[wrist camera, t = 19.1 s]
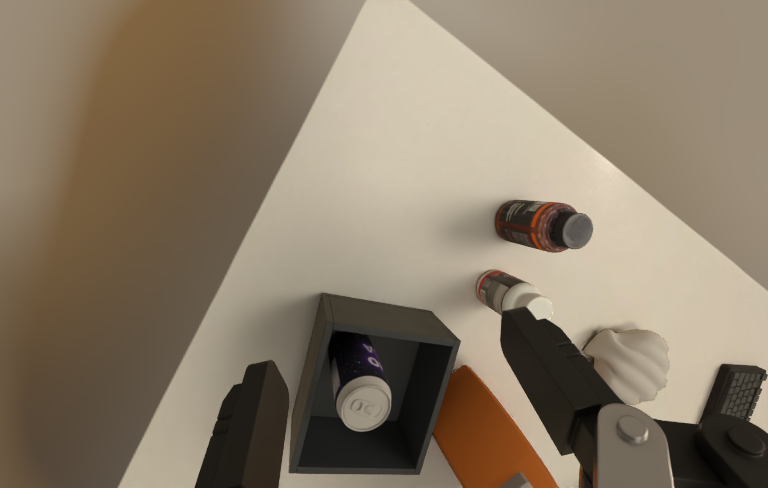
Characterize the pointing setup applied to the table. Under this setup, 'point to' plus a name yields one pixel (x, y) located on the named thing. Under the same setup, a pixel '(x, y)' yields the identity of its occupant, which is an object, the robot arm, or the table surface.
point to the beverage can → (358, 382)
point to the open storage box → (404, 375)
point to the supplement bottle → (544, 225)
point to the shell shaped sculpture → (631, 363)
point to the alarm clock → (485, 439)
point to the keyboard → (735, 391)
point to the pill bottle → (512, 294)
